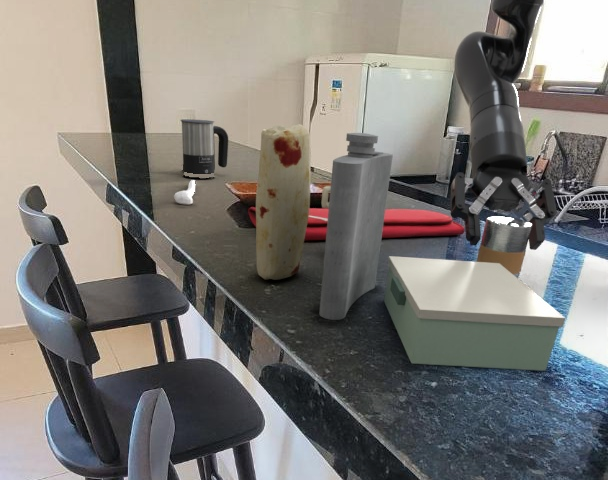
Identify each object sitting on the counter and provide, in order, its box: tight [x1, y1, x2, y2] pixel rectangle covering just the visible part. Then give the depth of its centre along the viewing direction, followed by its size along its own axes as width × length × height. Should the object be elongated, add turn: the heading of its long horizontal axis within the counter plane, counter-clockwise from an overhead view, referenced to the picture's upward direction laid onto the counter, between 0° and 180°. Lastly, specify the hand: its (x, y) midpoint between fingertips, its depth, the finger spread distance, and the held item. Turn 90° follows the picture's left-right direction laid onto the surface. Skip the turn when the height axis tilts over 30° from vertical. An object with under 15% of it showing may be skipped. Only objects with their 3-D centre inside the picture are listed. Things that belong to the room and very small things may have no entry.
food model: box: [255, 123, 312, 281], centre depth 72 cm, size 10×7×20 cm
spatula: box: [173, 179, 197, 206], centre depth 126 cm, size 28×4×3 cm, turn 8°
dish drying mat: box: [247, 206, 465, 242], centre depth 104 cm, size 16×41×4 cm, turn 113°
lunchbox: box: [383, 255, 566, 372], centre depth 61 cm, size 16×18×6 cm
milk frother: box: [180, 118, 229, 180], centre depth 151 cm, size 14×16×15 cm
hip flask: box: [318, 132, 394, 321], centre depth 65 cm, size 16×4×20 cm, turn 157°
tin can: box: [475, 216, 532, 279], centre depth 74 cm, size 6×6×10 cm
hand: (506, 244), depth 73 cm, fingers open, 8 cm apart
